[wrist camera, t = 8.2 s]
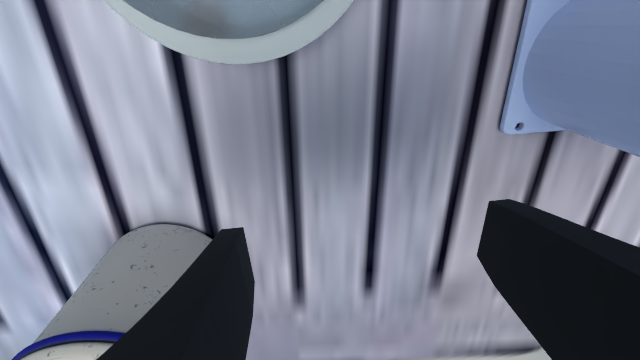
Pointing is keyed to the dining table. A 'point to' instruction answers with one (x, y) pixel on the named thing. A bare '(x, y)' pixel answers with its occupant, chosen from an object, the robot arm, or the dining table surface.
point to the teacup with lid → (118, 292)
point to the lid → (225, 15)
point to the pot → (242, 48)
